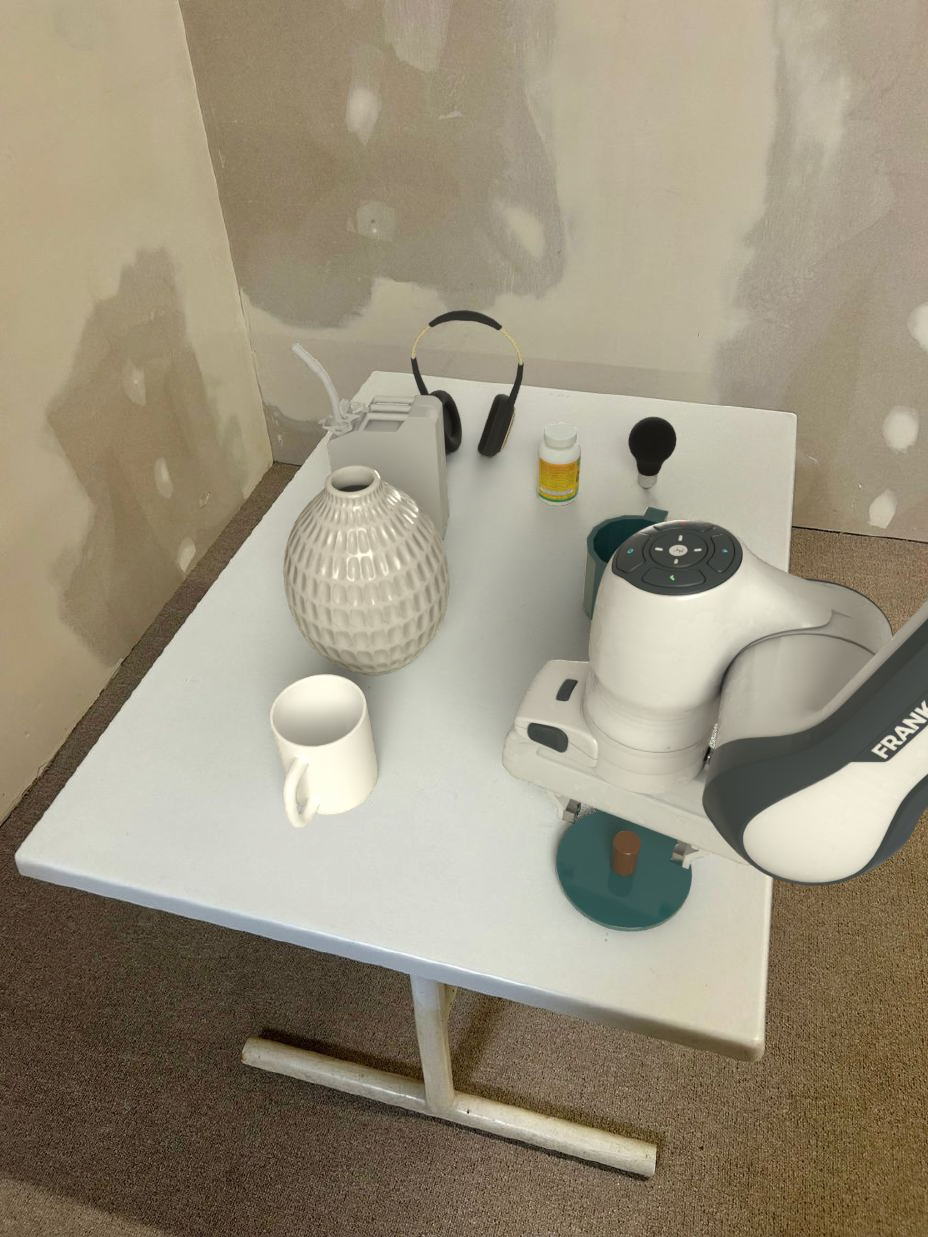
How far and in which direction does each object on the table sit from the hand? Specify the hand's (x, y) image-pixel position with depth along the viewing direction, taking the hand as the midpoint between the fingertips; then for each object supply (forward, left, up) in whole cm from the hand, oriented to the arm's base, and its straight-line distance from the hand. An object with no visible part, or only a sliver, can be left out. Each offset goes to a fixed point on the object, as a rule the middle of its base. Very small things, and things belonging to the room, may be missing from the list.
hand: (623, 836), depth 69 cm
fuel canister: (+42, -33, -6) cm, 54 cm away
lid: (0, 0, -5) cm, 5 cm away
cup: (+27, +4, -6) cm, 28 cm away
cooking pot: (+10, -32, -5) cm, 34 cm away
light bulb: (+15, -54, -6) cm, 56 cm away
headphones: (+40, -53, -6) cm, 67 cm away
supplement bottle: (+25, -48, -6) cm, 54 cm away
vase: (+32, -14, -6) cm, 35 cm away
